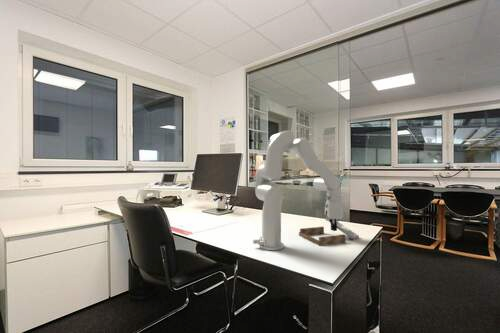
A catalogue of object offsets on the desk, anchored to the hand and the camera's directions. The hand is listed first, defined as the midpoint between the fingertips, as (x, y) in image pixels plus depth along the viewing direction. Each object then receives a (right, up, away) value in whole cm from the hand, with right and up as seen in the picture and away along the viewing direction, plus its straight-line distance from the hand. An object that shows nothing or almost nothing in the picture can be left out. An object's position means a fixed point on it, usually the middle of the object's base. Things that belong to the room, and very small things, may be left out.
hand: (333, 230), depth 133 cm
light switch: (+7, -4, +1) cm, 8 cm away
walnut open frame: (-8, -4, -3) cm, 9 cm away
